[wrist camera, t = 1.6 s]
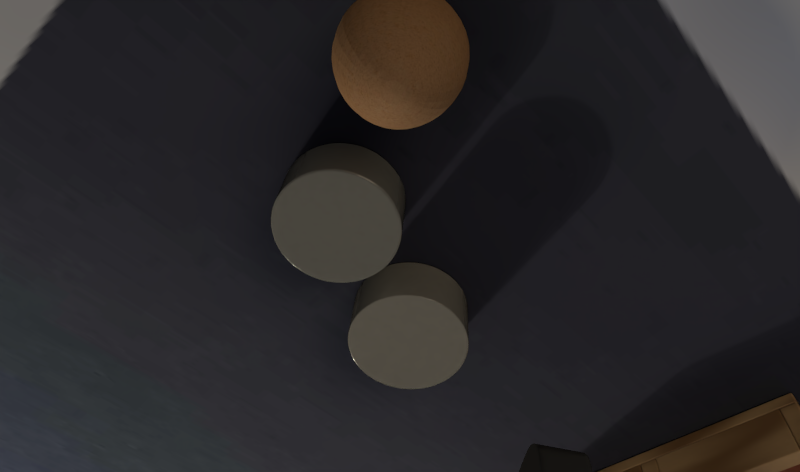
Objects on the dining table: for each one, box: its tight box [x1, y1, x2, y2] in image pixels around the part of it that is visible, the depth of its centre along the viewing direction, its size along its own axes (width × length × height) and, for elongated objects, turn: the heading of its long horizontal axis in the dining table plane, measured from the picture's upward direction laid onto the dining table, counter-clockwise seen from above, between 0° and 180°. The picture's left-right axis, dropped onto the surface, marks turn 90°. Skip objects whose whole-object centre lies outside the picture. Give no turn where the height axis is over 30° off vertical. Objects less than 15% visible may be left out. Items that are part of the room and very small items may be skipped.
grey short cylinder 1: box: [271, 143, 406, 283], centre depth 29 cm, size 5×5×2 cm
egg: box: [332, 0, 470, 130], centre depth 24 cm, size 4×4×6 cm
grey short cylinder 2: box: [348, 262, 469, 389], centre depth 32 cm, size 5×5×2 cm
